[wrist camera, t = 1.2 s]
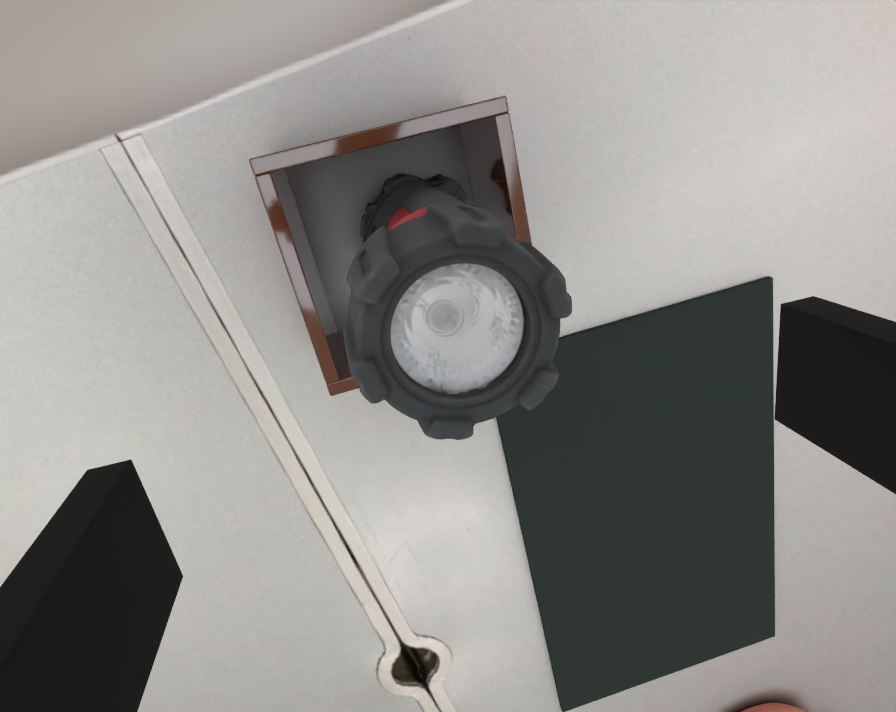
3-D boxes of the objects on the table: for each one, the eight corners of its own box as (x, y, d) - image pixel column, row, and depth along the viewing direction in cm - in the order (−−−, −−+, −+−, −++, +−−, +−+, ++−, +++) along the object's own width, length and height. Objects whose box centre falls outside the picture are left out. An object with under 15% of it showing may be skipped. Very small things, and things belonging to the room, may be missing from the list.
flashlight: (337, 286, 39) (345, 453, 18) (336, 168, 37) (344, 202, 16) (448, 288, 41) (573, 443, 20) (454, 174, 38) (607, 213, 17)
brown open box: (466, 105, 37) (506, 95, 29) (504, 295, 42) (547, 333, 34) (267, 155, 36) (248, 159, 27) (330, 345, 41) (330, 396, 32)
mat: (768, 276, 46) (773, 277, 45) (771, 632, 61) (775, 636, 60) (483, 359, 43) (485, 362, 43) (560, 708, 59) (562, 712, 58)
